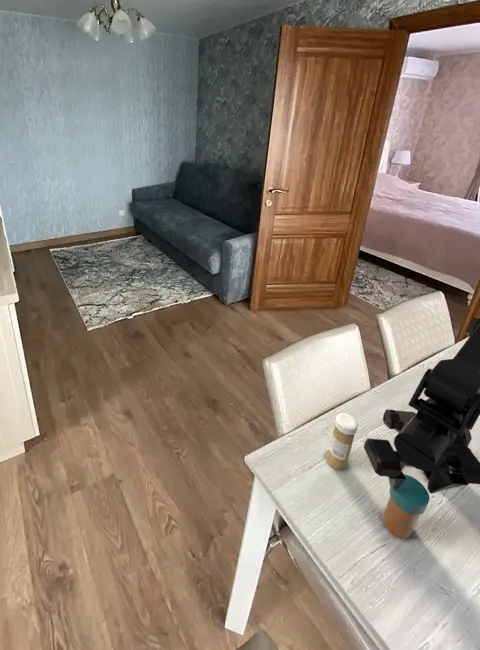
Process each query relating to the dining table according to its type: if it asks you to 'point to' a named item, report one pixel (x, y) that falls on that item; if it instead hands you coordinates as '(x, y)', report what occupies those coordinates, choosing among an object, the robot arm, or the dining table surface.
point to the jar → (398, 520)
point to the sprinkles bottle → (342, 440)
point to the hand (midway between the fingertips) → (410, 489)
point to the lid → (410, 496)
